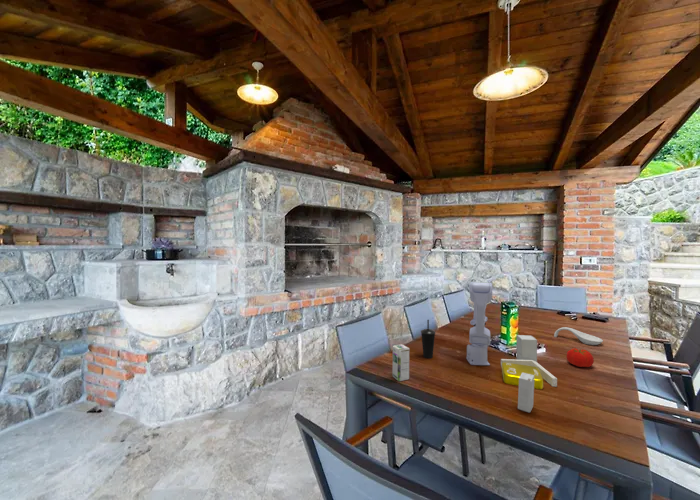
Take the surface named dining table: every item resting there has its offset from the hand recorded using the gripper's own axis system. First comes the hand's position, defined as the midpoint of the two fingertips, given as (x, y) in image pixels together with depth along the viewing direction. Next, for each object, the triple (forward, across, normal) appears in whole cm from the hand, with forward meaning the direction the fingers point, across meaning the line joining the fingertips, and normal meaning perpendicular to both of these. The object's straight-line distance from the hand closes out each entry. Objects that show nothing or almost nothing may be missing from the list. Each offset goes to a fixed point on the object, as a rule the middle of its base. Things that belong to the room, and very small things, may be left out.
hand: (479, 335), depth 166 cm
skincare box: (+10, -38, -40) cm, 56 cm away
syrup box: (+10, -57, +6) cm, 58 cm away
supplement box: (+10, +7, -22) cm, 25 cm away
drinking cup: (+10, -27, +14) cm, 32 cm away
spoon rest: (+10, +63, -28) cm, 70 cm away
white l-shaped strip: (+9, -10, -29) cm, 32 cm away
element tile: (+10, -15, -28) cm, 34 cm away
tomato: (+10, +23, -40) cm, 47 cm away
